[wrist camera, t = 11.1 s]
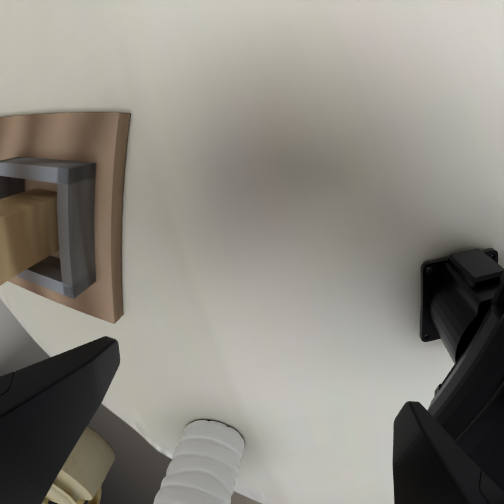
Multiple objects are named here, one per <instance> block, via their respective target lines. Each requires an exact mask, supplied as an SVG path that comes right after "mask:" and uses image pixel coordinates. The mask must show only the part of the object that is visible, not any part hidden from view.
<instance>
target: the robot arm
mask: <svg viewBox="0 0 504 504" xmlns="http://www.w3.org/2000/svg"><path fill="white" fill-rule="evenodd" d="M492 254H493V256H492V258H490V257H491V255H492ZM428 267H431V268H430V270H429V271H426V269H427V268H428ZM426 334H428V335H427V336H425V335H426ZM420 338H421V340H422V341H423V342H428V341H432V340H437V339H441V340H442V341H443V343H444V345H445V347H446V349H447V351H448V352H449V354H450V356H451V358H452V360H453V362H454V364H455V365H454V366H453V368H452V369H451V371H450V372H449V374H448V375H447V377H446V378H445V380H444V381H443V382H442V384H440V385H439V386H438V387H437V388H436V390H435V397H434V398H433V400H432V401H431V404H430V406H429V409H428V411H427V410H426V409H425V408H424V407H423V406H422V405H421V404H420V403H419V402H414V401H408V402H406V403H405V404H404V406H403V407H402V409H401V410H400V412H399V413H398V415H397V416H396V418H395V421H394V436H393V480H394V503H395V504H504V268H502V267H501V266H500V265H499V264H498V252H497V251H496V250H494V249H493V248H490V249H486V250H480V249H473V250H468V251H463V252H458V253H453V254H450V255H449V256H448V257H447V258H442V259H437V260H431V261H427V262H425V263H423V265H422V266H421V319H420ZM119 364H120V354H119V344H118V341H117V340H116V339H113V338H110V337H107V336H105V337H102V338H99V339H97V340H94V341H92V342H89V343H87V344H84V345H82V346H79V347H76V348H74V349H71V350H69V351H66V352H64V353H61V354H59V355H56V356H53V357H51V358H48V359H46V360H43V361H41V362H38V363H35V364H32V365H30V366H27V367H25V368H22V369H19V370H17V371H15V372H11V373H9V374H6V375H3V376H0V504H42V503H43V501H44V499H45V498H44V497H46V495H47V493H48V492H49V490H50V488H51V486H52V484H53V483H54V481H55V479H56V477H57V476H58V474H59V472H60V471H61V469H62V467H63V465H64V464H65V462H66V460H67V459H68V457H69V455H70V454H71V452H72V450H73V449H74V447H75V445H76V444H77V442H78V440H79V439H80V437H81V435H82V434H83V432H84V430H85V429H86V427H87V425H88V424H89V422H90V420H91V419H92V417H93V416H94V414H95V413H96V411H97V409H98V408H99V406H100V404H101V402H102V400H103V398H104V396H105V394H106V392H107V390H108V388H109V386H110V384H111V382H112V380H113V377H114V375H115V373H116V371H117V369H118V367H119Z"/></svg>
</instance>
